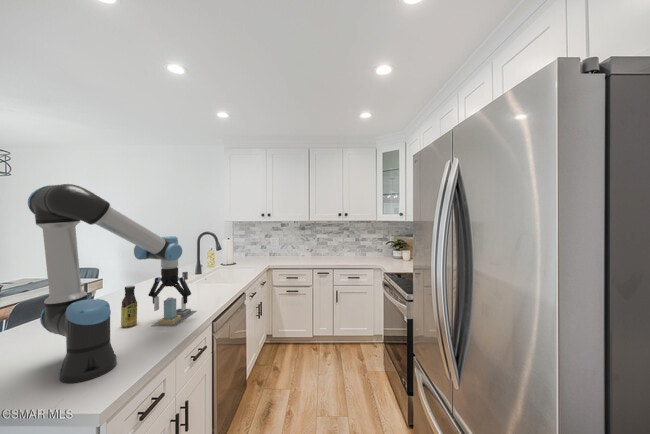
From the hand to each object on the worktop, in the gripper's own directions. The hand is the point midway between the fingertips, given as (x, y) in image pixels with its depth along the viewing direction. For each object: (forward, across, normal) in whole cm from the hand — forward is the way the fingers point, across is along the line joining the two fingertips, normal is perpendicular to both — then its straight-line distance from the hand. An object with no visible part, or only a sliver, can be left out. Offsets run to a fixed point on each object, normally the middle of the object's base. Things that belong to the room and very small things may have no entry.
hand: (170, 310), depth 138 cm
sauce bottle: (+7, +17, +5) cm, 19 cm away
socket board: (+7, 0, -5) cm, 8 cm away
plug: (+6, 0, 0) cm, 6 cm away
